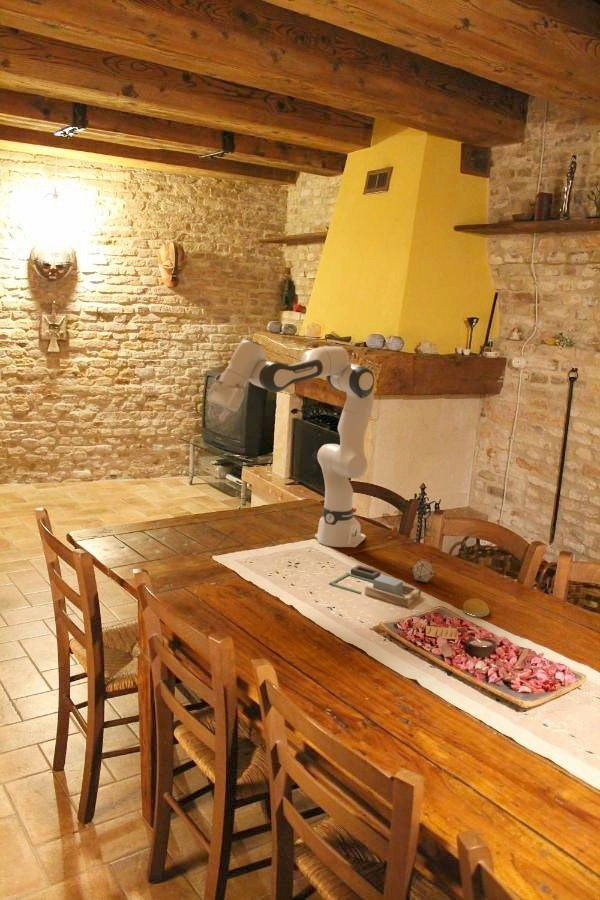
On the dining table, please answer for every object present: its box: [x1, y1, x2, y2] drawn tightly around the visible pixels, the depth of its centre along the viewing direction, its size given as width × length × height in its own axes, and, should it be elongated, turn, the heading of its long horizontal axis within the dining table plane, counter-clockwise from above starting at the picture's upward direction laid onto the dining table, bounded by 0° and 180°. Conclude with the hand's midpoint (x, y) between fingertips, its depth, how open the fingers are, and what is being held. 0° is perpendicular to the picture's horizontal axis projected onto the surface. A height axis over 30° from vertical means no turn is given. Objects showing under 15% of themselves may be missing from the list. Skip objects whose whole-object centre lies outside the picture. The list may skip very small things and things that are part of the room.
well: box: [350, 564, 381, 581], centre depth 261 cm, size 5×9×2 cm, turn 57°
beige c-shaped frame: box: [364, 583, 422, 608], centre depth 245 cm, size 11×15×2 cm
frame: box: [328, 572, 374, 594], centre depth 253 cm, size 13×12×1 cm
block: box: [372, 574, 404, 596], centre depth 246 cm, size 6×8×5 cm
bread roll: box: [462, 597, 490, 618], centre depth 236 cm, size 8×9×4 cm
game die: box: [409, 557, 437, 585], centre depth 258 cm, size 9×8×10 cm
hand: (214, 418), depth 255 cm, fingers open, 8 cm apart
